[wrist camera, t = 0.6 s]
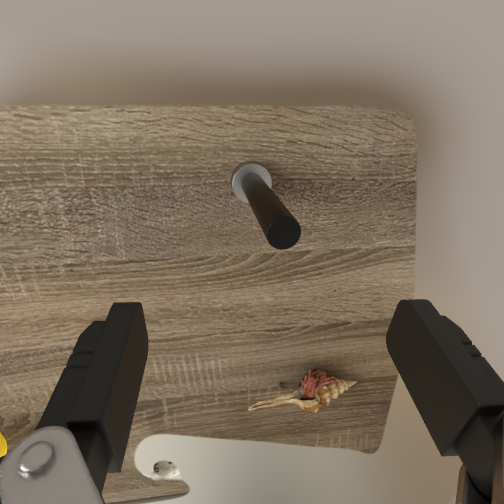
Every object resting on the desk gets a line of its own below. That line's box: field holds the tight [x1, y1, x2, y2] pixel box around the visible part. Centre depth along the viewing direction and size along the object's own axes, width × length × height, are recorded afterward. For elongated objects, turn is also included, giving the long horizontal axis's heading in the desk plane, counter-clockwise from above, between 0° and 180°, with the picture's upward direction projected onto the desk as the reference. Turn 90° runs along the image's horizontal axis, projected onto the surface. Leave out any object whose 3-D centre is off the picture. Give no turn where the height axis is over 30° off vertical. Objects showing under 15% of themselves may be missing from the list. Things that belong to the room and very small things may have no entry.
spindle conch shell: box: [248, 364, 357, 413], centre depth 41 cm, size 14×5×4 cm, turn 107°
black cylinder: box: [231, 161, 301, 249], centre depth 25 cm, size 4×4×14 cm
